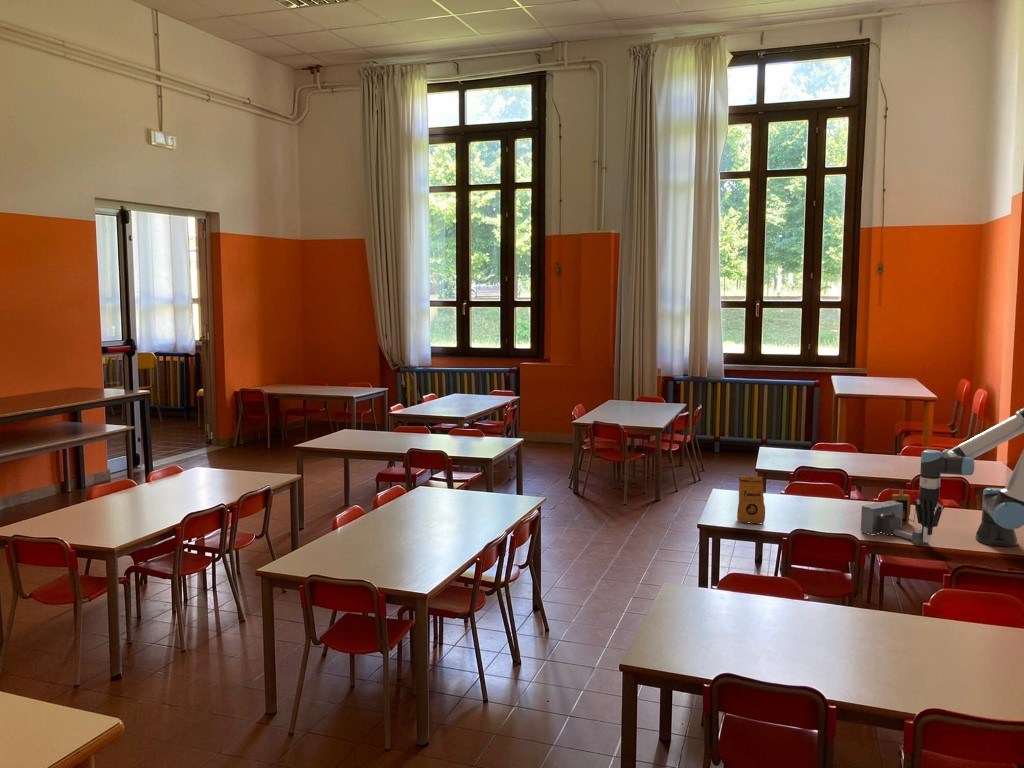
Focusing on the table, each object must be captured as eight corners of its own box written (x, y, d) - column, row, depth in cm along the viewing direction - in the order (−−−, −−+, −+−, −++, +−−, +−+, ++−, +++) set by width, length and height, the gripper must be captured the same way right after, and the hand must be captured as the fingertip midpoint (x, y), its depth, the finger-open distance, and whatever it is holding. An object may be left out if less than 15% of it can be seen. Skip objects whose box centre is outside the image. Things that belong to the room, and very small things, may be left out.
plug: (928, 542, 341) (929, 526, 340) (917, 545, 338) (918, 528, 337) (888, 530, 359) (889, 514, 358) (877, 532, 356) (878, 516, 355)
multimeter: (908, 517, 378) (910, 476, 376) (917, 523, 368) (919, 481, 366) (876, 517, 379) (878, 475, 377) (884, 523, 369) (886, 480, 367)
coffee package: (764, 526, 366) (766, 479, 364) (736, 524, 370) (737, 477, 367) (764, 520, 376) (766, 474, 373) (737, 518, 379) (738, 473, 377)
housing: (901, 529, 359) (903, 503, 358) (872, 535, 351) (873, 509, 350) (890, 526, 365) (891, 500, 363) (860, 531, 356) (861, 505, 355)
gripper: (909, 484, 339) (906, 538, 342) (938, 491, 327) (934, 547, 330) (921, 482, 342) (918, 536, 345) (949, 489, 331) (946, 544, 333)
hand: (926, 541), depth 337 cm, fingers closed
